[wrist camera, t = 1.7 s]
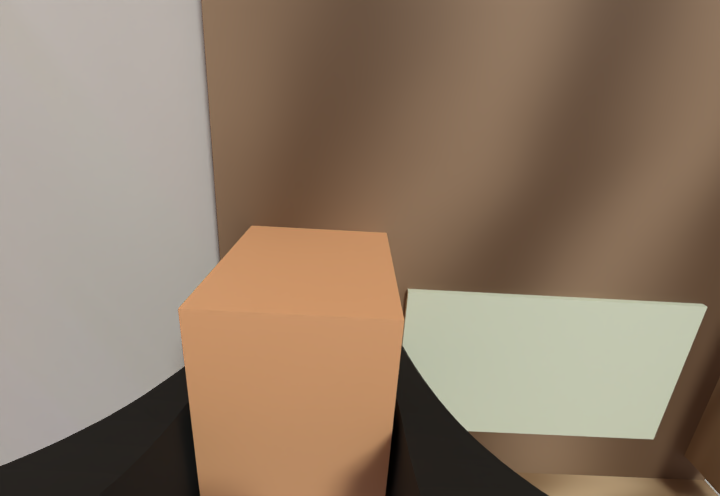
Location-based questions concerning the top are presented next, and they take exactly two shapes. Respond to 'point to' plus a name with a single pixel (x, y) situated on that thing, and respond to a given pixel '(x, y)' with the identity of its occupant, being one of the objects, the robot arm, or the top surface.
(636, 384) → the pad
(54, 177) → the top surface
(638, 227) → the arena
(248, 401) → the block
